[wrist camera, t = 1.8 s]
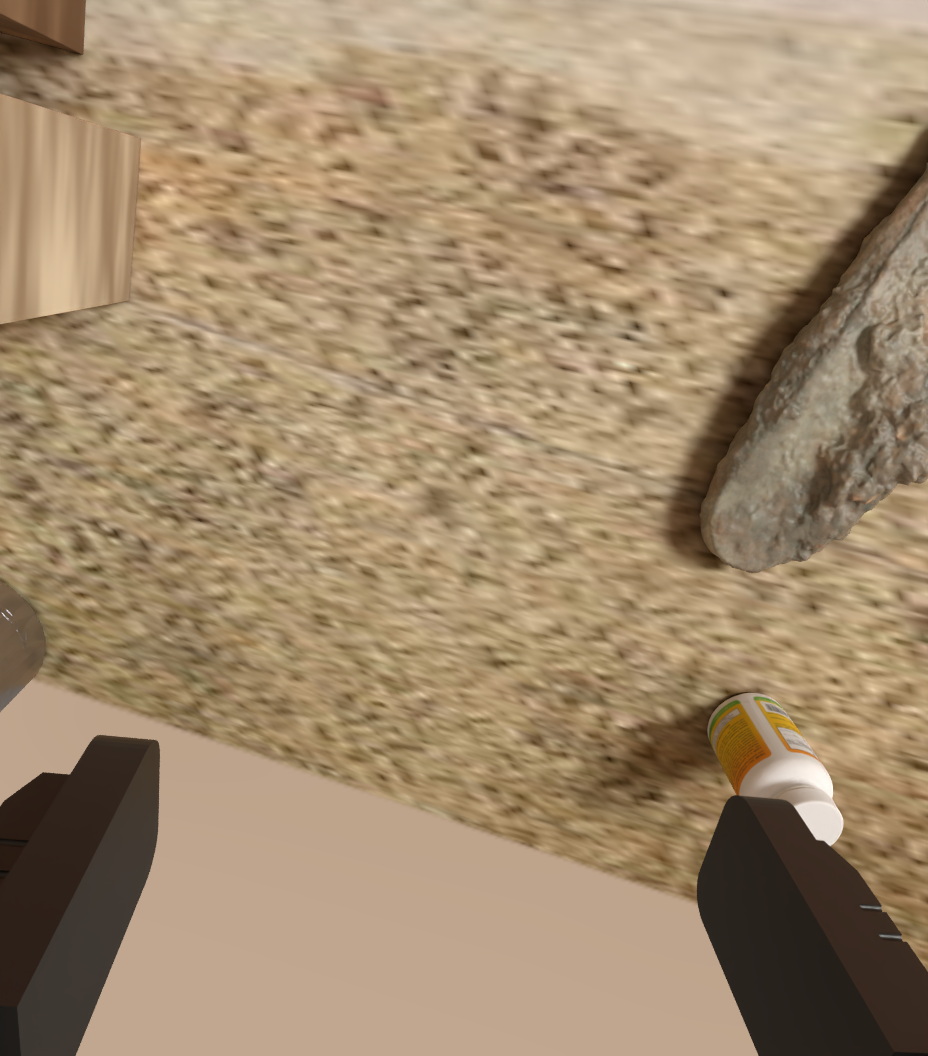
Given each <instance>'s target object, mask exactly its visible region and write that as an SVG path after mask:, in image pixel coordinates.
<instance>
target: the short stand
mask: <svg viewBox="0 0 928 1056" xmlns="http://www.w3.org/2000/svg"><path fill="white" fill-rule="evenodd" d="M140 146H141V139H140V138H137V137H134V136H131V135H128V134H125V133H121V132H118V131H115V130H112V129H109V128H106V127H103V126H100V125H97V124H93V123H90V122H87V121H84V120H81V119H78V118H75V117H72V116H69V115H65V114H62V113H59V112H56V111H53V110H50V109H47V108H44V107H41V106H37V105H34V104H31V103H28V102H25V101H22V100H19V99H16V98H13V97H9V96H6V95H3V94H0V324H4V323H10V322H15V321H21V320H26V319H31V318H37V317H42V316H48V315H53V314H59V313H64V312H69V311H75V310H80V309H86V308H91V307H96V306H102V305H107V304H113V303H118V302H124V301H129V296H130V283H131V269H132V255H133V242H134V228H135V214H136V201H137V187H138V173H139V160H140Z"/></svg>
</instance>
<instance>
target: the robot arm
mask: <svg viewBox="0 0 928 1056" xmlns="http://www.w3.org/2000/svg"><path fill="white" fill-rule="evenodd" d="M44 656H45V637H44V633H43V629H42V626H41V624H40V622H39V619H38V617H37V615H36V613H35V612H34V611H33V609H32V608H31V607H30V606H29V604H28V603H27V602H26V601H25V600H24V599H23V598H22V597H21V596H20V595H19V594H18V593H17V592H16V591H15V590H13V589H12V588H10V587H9V586H7V585H6V584H4V583H3V582H1V581H0V712H1V711H2V710H3V708H4V707H6V706H7V705H8V704H9V702H10V701H11V700H12V699H13V698H14V697H15V696H16V695H17V694H18V693H19V692H20V691H21V690H22V689H23V688H24V687H25V686H26V685H27V684H28V683H29V682H30V681H31V680H32V679H33V678H34V677H35V675H36V674H37V672H38V671H39V669H40V667H41V666H42V663H43V659H44ZM159 767H160V749H159V743H158V741H156V740H148V739H137V738H127V737H115V736H105V735H97V736H96V737H94V739H93V740H92V741H91V742H90V744H89V745H88V747H87V748H86V750H85V752H84V754H83V755H82V756H81V758H80V760H79V761H78V763H77V764H76V766H75V768H74V769H73V771H72V772H71V774H70V775H67V774H55V773H44V772H43V773H42V774H40V775H39V776H38V777H36V778H35V779H33V780H32V781H31V782H29V783H28V784H27V785H25V786H24V787H22V788H21V789H20V790H18V791H17V792H16V793H14V794H13V795H12V796H10V797H9V798H8V799H6V800H5V801H4V802H3V803H2V805H1V806H0V1056H75V1055H76V1053H77V1051H78V1048H79V1046H80V1043H81V1041H82V1038H83V1036H84V1033H85V1031H86V1028H87V1026H88V1023H89V1021H90V1019H91V1016H92V1014H93V1011H94V1009H95V1006H96V1004H97V1001H98V999H99V996H100V994H101V992H102V989H103V987H104V984H105V982H106V979H107V977H108V974H109V972H110V969H111V967H112V964H113V962H114V959H115V957H116V955H117V952H118V949H119V947H120V945H121V942H122V940H123V937H124V935H125V932H126V930H127V927H128V925H129V922H130V920H131V917H132V915H133V912H134V910H135V907H136V905H137V903H138V900H139V898H140V895H141V893H142V890H143V888H144V886H145V883H146V880H147V878H148V875H149V872H150V869H151V865H152V861H153V857H154V853H155V848H156V842H157V835H158V813H159V810H158V809H159ZM697 901H698V908H699V912H700V916H701V919H702V922H703V924H704V927H705V929H706V931H707V934H708V936H709V939H710V941H711V943H712V946H713V948H714V951H715V953H716V955H717V958H718V960H719V962H720V965H721V967H722V969H723V972H724V974H725V977H726V979H727V981H728V984H729V986H730V989H731V991H732V993H733V996H734V998H735V1000H736V1003H737V1005H738V1007H739V1010H740V1012H741V1015H742V1017H743V1019H744V1022H745V1024H746V1026H747V1029H748V1031H749V1034H750V1036H751V1039H752V1041H753V1043H754V1046H755V1048H756V1050H757V1053H758V1055H759V1056H928V972H927V970H926V969H925V967H924V966H923V965H922V963H921V962H920V960H919V959H918V957H917V956H916V954H915V953H914V952H913V950H912V949H911V947H910V946H909V944H908V943H907V942H903V941H902V939H901V935H902V934H901V933H900V931H899V930H898V929H897V927H896V926H895V924H894V923H893V921H892V920H891V918H890V917H889V916H888V914H887V913H886V912H882V910H881V904H880V903H879V901H878V900H877V898H876V897H875V895H874V894H873V893H872V891H871V890H870V888H869V887H868V885H867V884H866V883H865V881H864V880H863V878H862V877H861V875H860V874H859V872H858V871H857V870H856V869H855V868H854V867H852V866H851V865H850V864H849V863H848V862H847V861H846V860H845V859H844V858H843V857H841V856H840V855H839V854H838V853H837V852H836V851H835V850H834V849H833V848H831V847H830V846H829V845H828V844H827V843H826V842H825V841H823V840H816V839H815V837H814V836H813V834H812V833H811V831H810V830H809V828H808V827H807V825H806V824H805V822H804V821H803V819H802V818H801V816H800V815H799V813H798V811H797V810H796V809H795V807H794V806H793V805H792V804H791V803H790V802H788V801H786V800H783V799H773V798H762V797H751V796H740V795H735V796H732V797H731V798H729V799H728V801H727V802H726V804H725V806H724V809H723V811H722V814H721V816H720V819H719V822H718V824H717V827H716V829H715V832H714V835H713V837H712V840H711V843H710V845H709V848H708V850H707V853H706V856H705V858H704V861H703V864H702V866H701V869H700V872H699V875H698V881H697Z"/></svg>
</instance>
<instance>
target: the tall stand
mask: <svg viewBox="0 0 928 1056" xmlns="http://www.w3.org/2000/svg"><path fill="white" fill-rule="evenodd" d="M85 3H86V0H0V32H3V33H6V34H10V35H14V36H17V37H21V38H25V39H28V40H32V41H36V42H39V43H43V44H47V45H50V46H54V47H58V48H61V49H65V50H69V51H72V52H76V53H80V54H83V47H84V25H85Z"/></svg>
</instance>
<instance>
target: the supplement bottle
mask: <svg viewBox="0 0 928 1056" xmlns="http://www.w3.org/2000/svg"><path fill="white" fill-rule="evenodd" d="M707 732H708V738H709V741H710V743H711V746H712V748H713V750H714V752H715V754H716V756H717V758H718V760H719V761H720V763H721V765H722V767H723V769H724V771H725V773H726V775H727V777H728V779H729V781H730V783H731V785H732V787H733V789H734V791H735V793H736V795H740V796H751V797H762V798H773V799H783V800H786V801H788V802H790V803H791V804H792V805H793V806H794V807H795V809H796V810H797V811H798V813H799V815H800V816H801V818H802V819H803V821H804V822H805V824H806V825H807V827H808V828H809V830H810V831H811V833H812V834H813V836H814V837H815V839H816V840H823V841H825V842H826V843H827V844H828V845H829V846H831V845H832V844H833V843H834V842H835V841H836V840H837V839H838V838H839V836H840V834H841V832H842V829H843V818H842V815H841V813H840V811H839V810H838V808H837V806H836V805H835V803H834V801H833V800H832V796H833V785H832V781H831V778H830V776H829V774H828V772H827V771H826V769H825V768H824V766H823V765H822V763H821V762H820V760H819V759H818V758H817V756H816V755H815V753H814V752H813V750H812V749H811V747H810V746H809V745H808V743H807V742H806V740H805V739H804V737H803V736H802V734H801V733H800V732H799V730H798V729H797V727H796V726H795V725H794V723H793V722H792V720H791V719H790V717H789V716H788V715H787V713H786V712H785V710H784V709H783V708H782V707H781V705H780V704H779V703H778V702H777V701H775V700H774V699H772V698H771V697H769V696H766V695H763V694H759V693H744V694H740V695H737V696H734V697H731V698H729V699H728V700H726V701H724V702H723V703H722V704H720V705H719V706H718V707H717V708H716V709H715V711H714V712H713V713H712V715H711V717H710V719H709V722H708V729H707Z"/></svg>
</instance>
